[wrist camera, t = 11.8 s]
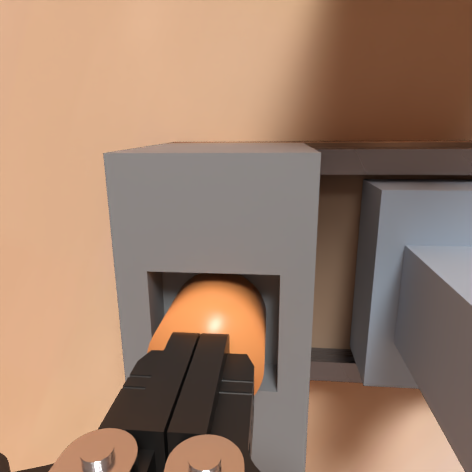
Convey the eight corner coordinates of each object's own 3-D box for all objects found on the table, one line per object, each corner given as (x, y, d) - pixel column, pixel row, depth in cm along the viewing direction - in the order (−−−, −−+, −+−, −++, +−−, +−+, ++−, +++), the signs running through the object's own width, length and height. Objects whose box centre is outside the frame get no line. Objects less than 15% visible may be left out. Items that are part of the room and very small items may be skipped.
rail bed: (761, 139, 16) (937, 144, 12) (681, 368, 19) (799, 438, 15) (173, 142, 19) (143, 146, 14) (183, 346, 22) (161, 401, 17)
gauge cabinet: (303, 142, 17) (321, 152, 10) (294, 374, 20) (304, 490, 13) (165, 143, 17) (103, 153, 11) (178, 369, 20) (135, 476, 14)
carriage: (487, 179, 16) (802, 258, 6) (458, 350, 18) (663, 598, 9) (363, 179, 17) (486, 251, 7) (349, 346, 19) (429, 576, 9)
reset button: (267, 271, 13) (265, 313, 10) (265, 356, 14) (263, 418, 11) (171, 269, 13) (142, 309, 10) (176, 352, 14) (150, 411, 11)
